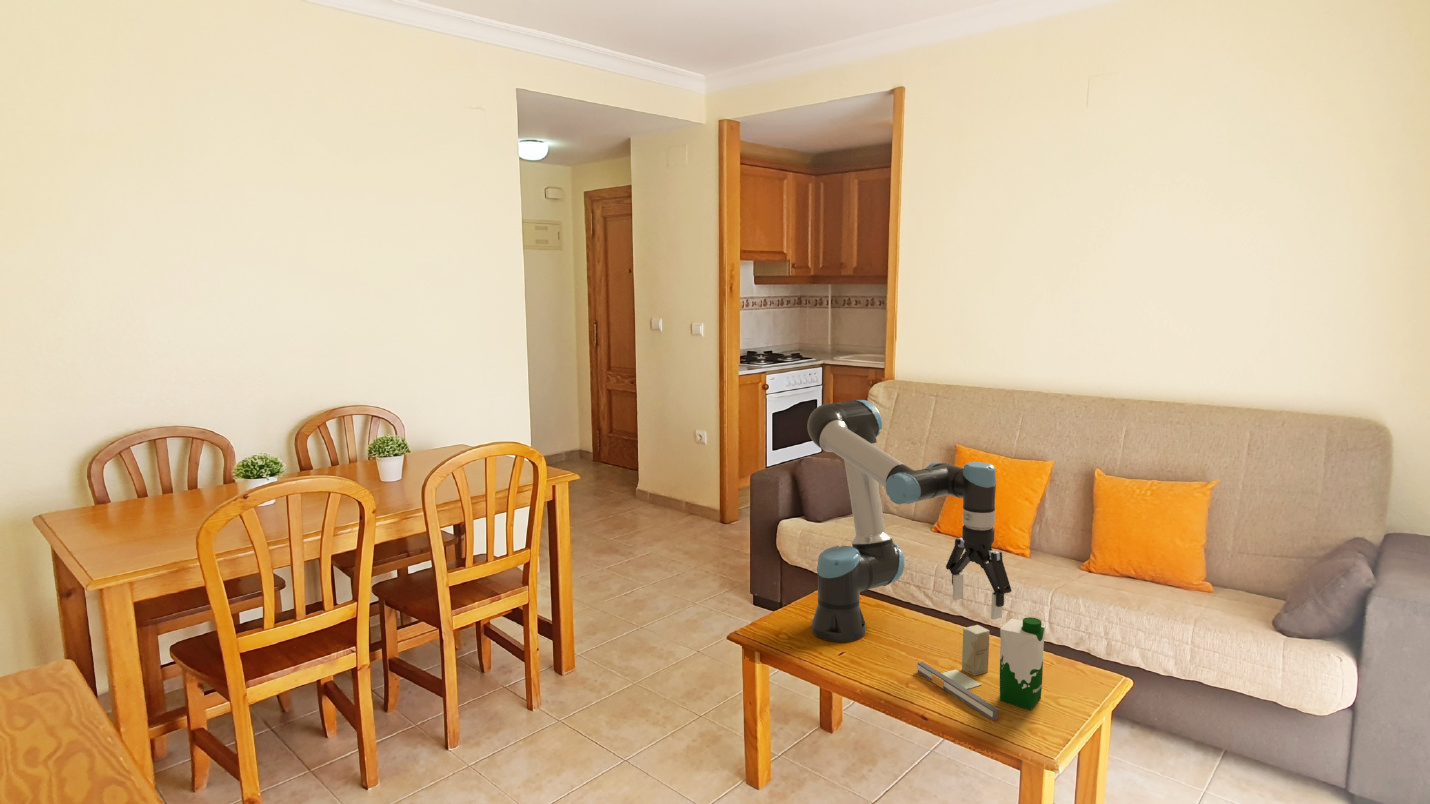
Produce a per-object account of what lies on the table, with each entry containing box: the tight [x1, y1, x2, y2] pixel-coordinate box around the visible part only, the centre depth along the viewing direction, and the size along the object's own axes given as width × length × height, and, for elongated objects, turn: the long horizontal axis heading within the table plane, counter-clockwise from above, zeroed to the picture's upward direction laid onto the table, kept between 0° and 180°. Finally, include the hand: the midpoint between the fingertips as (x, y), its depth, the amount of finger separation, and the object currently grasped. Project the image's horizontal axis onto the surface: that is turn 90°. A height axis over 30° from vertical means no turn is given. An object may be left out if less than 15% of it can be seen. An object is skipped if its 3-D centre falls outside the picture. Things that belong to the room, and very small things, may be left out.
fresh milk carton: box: [999, 616, 1046, 711], centre depth 190 cm, size 9×9×20 cm
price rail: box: [916, 661, 999, 721], centre depth 194 cm, size 26×2×2 cm, turn 25°
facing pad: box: [941, 669, 982, 690], centre depth 201 cm, size 9×7×1 cm
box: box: [961, 624, 991, 676], centre depth 205 cm, size 5×4×11 cm
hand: (976, 608), depth 203 cm, fingers open, 13 cm apart
